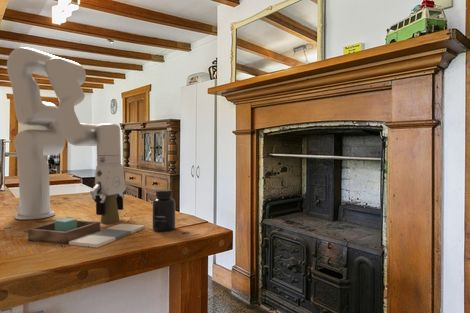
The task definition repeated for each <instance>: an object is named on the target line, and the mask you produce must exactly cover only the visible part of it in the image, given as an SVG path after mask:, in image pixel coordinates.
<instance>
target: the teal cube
mask: <svg viewBox="0 0 470 313" xmlns="http://www.w3.org/2000/svg"><path fill="white" fill-rule="evenodd" d="M77 220H78V219H77V218H72V217H71V218H69V217H65V218H60V219H57V220H54V222H55V231H63V232H67V231H70V230H73V229H76V228H77Z"/></svg>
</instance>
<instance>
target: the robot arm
mask: <svg viewBox="0 0 470 313" xmlns="http://www.w3.org/2000/svg"><path fill="white" fill-rule="evenodd" d="M6 70H7V75H8V78H9V83H10V85H11V89H12V97H13V104H14V105H13V106H14V112H15V118H16V120H17V122H18V123H19V124H21V125H23V126H27V127H40V128H41V129H36V128H35V129H33V128H31V129H29V128H28V129H24V130H20V131H19V132H18V133H17V134H16V135H15V137H14V140H13V141H14V142H13V143H14V148H15V152H16V157H17V165H18V187H19V188H18V190H19V191H18V195H19V196H18V197H19V204H18V205H14V208H13V210H14V211H18V212H17V213H15V215H14V219H16V220H21V221H23V220H24V221H26V220H27V221H28V220H40V219H45V218H50V217H53V216H55V214H56V211H55V210H52V209H51V196H50V195H51V193H50V192H51V191H50V190H51V189H50V187H51V186H50V167H49V163H48V161H47V160H46V157H45V156H55V155H57V156H58V155H59V154H61V153H62V152H63V151H64V149H65V147H66V142H68V143H69V144H70V145H72V146H75V147H78V146H79V147H96V167H95V174H94V186H93V188H91V190H90V191H89V192H90V195H91V197H92V200H93V202H94V203H95V211H96V212H95V214H96V215H97V216H101V215H105V214H106V212H105V203H103V202H104V200H105V198H106V195H107V196H110V195H115V194H118V196H117V198H116V201H117V207H118V211H123V210H124V198H125V193H126V189H127V186H128V185H127V184H126V182H125V175H124V174H125V173H124V168H123V167H124V166H123V164H122V155H121V154H122V153H121V152H122V150H121V146H122V145H121V128H120V127H121V126H120V125H118V124H116V123H99V124H95V123H86V122H85V123H84V122H80V121H79V118H78V116H77V114H76V111H75V106H77V105H79V104H81V103H82V102H83V101H84V100H85V96H86V95H85V92H84V90H83V88H82V85H83V84H84V83H85V82H86V79H87V74H86V70H85V68H84V67H83V66H82V65H81V64H80V63H78V62H75V61H73V60H70V59H66V58H62V57H59V56H56V55H53V54H50V53H46V52H43V51H41V50H38V49H35V48H30V47H17V48H15V49H13V50H12V51H11V52H10V54H9V55H8V57H7V62H6ZM33 74H34V75H37V76H41V77H46V78H48V80H49V83H50V85H51V87H52V89H53V91H54V93H55V96H56V97H57V100H58V102H59V104H58V106H57V105H56V104H54V103H52V102H49V101H48V102H47V101H43V100H42V97H41V89H40V86H39V84H38V83H37V80H36V79H35V78H34V77H33Z"/></svg>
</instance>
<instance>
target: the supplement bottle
mask: <svg viewBox="0 0 470 313" xmlns="http://www.w3.org/2000/svg"><path fill="white" fill-rule="evenodd" d="M172 196H173V190H172V189H168V188H166V189H164V188H163V189H156V190H155V197H156V198H155V199H153V201H152V230H153V231H155V232H161V233H162V232H163V233H164V232H171V231H174V230H175V228H176V200H175V199H174V198H173V197H172Z"/></svg>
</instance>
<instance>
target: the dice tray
mask: <svg viewBox="0 0 470 313" xmlns="http://www.w3.org/2000/svg"><path fill="white" fill-rule="evenodd" d="M100 230H101V221H91V220H83V219H81V220H79V219H77V228H76V229H73V230H70V231H67V232H63V231H55V221H53V222H50V223H47V224H43V225H38V226H35V227H31V228H28V229H27V236H28V237H27V240H28V241H34V242H42V243H53V244H61V245H62V244H63V245H67V244H68V245H69V241H72V240H75V239H77V238H80V237H83V236H86V235H89V234H92V233H95V232H98V231H100Z"/></svg>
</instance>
